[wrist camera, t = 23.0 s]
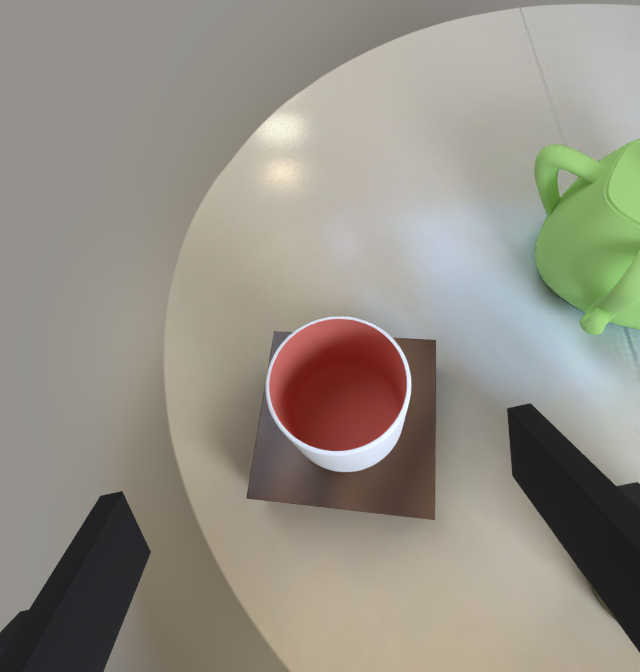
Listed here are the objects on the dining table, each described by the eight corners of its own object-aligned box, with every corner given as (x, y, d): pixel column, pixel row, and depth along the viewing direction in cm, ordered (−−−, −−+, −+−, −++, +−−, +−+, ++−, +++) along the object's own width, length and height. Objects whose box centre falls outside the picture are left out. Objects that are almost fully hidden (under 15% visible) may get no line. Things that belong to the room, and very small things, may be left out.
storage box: (260, 501, 41) (246, 498, 37) (283, 350, 47) (274, 331, 43) (428, 520, 39) (435, 519, 34) (429, 358, 45) (435, 339, 40)
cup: (288, 474, 37) (260, 457, 28) (292, 365, 41) (268, 318, 32) (407, 473, 36) (418, 454, 27) (398, 360, 40) (405, 311, 31)
